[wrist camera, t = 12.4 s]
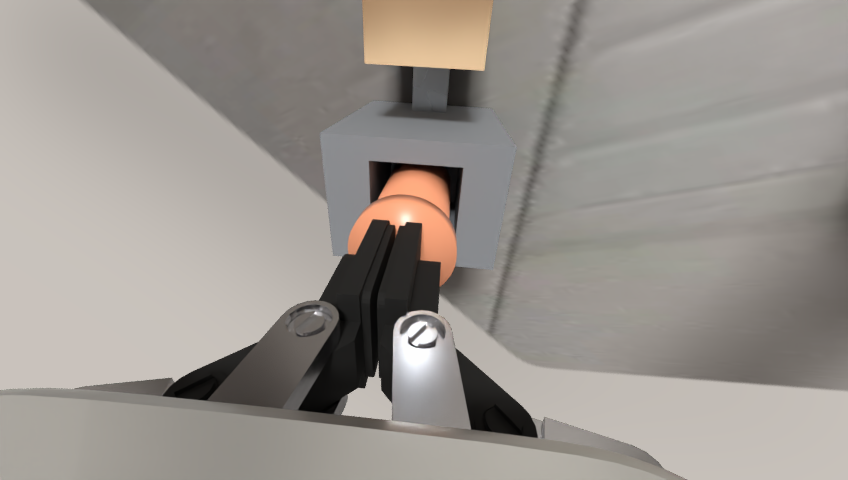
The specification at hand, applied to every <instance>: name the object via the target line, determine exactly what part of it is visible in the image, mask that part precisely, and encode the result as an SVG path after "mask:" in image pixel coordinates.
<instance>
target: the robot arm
mask: <svg viewBox="0 0 848 480" xmlns="http://www.w3.org/2000/svg"><path fill="white" fill-rule="evenodd" d="M421 238H422V223H415V222H406V223H405V226H401V225H400V226H399V228H398V232H397V235H396V238H395V225H390V222H389V220H378V219H373V220H372V221H371V223H370V226H369V228H368V230H367V232H366V234H365V236H364V238H363V240H362V242H361V244H360V246H359V248H358V250H357V252H356V254H355V255H354V254H345V255H344V256H343V257H342V259H341V261H340V263H339V265H338V267H337V268H336V270H335V272H334V274H333V276H332V277H331V279H330V281H329V283H328V285H327V287H326V288H325V290H324V292H323V294H322V296H321V298H320V299H319V301H316V300H315V301H307V302H303V303H300V304H297V305H296V306H293V307H291V308H290V309H289V310H287V311H286V312H285V313H284V314H283V315H282V316H281V317H280V318H279V319H278V321H277V322H276V323H275V324H274V325H273V326H272V327H271V328H270V330H269V331H268V332H267V333H266V334H265V335H264V336H263V338H262V339H261V340H260V341H259V342H257V343H255V344H253V345H250V346H248V347H246V348H244V349H242V350H240V351H237V352H235V353H233V354H230V355H228V356H226V357H224V358H222V359H219V360H217V361H215V362H213V363H210V364H208V365H206V366H204V367H202V368H200V369H197V370H195V371H193V372H191V373H189V374H187V375H185V376H183V377H182V378H180V379H179V380H178V381H176V382H174V381H173V379H172V378H165V379H155V380H145V381H135V382H125V383H114V384H104V385H94V386H85V387H80V388H75V389H56V388H33V389H7V390H0V480H686V479H684V478H682V477H680V476H678V475H676V474H674V473H672V472H669V471H667V470H665V469H664V468H663V467H662V466H661V465H660V464H659V462H658V461H656V460H655V459H654V458H653V457H652V456H650V455H649V454H648V453H647V452H645V451H643V450H641V449H639V448H637V447H635V446H632V445H629V444H626V443H623V442H620V441H617V440H614V439H611V438H608V437H605V436H602V435H599V434H596V433H593V432H589V431H586V430H583V429H580V428H577V427H574V426H571V425H568V424H565V423H562V422H559V421H556V420H552V419H549V418H546V417H545V418H544V420H543V421H540V420H537V419H534V418H531V416H530V415H529V413H528V412H527V411H526V410H525V409H524V408H523V407H522V406H521V405H520V404H519V403H518V402H517V401H516V400H514V399H513V398H512V397H511V396H510V395H509V394H508V393H506V392H505V391H504V390H503V389H502V388H501V387H500V386H498V385H497V384H496V383H495V382H494V381H493V380H492V379H490V378H489V377H488V376H487V375H486V374H485V373H484V372H482V371H481V370H480V369H479V368H478V367H477V366H476V365H474V364H473V363H472V362H471V361H470V360H469V359H468V358H467V357H465V356H464V355H463V354H462V353H461V352H460V351H459V350H457V349H456V348H455V343H454V338H453V333H452V329H451V327H450V324H449V323H448V322H447V321H446V319H445V318H444V317H442V316H440V315H438V303H439V287H440V270H441V262H436V261H424V260H420V257H421ZM378 360H379V378H381V389H382V391H383V393H384V394H385V395H386V396H387V398H388V399H389V400H390V401H391V403H392V421H390V420H380V419H371V418H362V417H354V416H344V415H341V414H342V412H343V410H344V408H345V405H346V402H347V399H348V396H347V394H349V393H350V392H352V391H354V390H355V389H357V388H365V386H366V382H367V379H368V377H374V376H375V372H376V368H377V364H378Z"/></svg>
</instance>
